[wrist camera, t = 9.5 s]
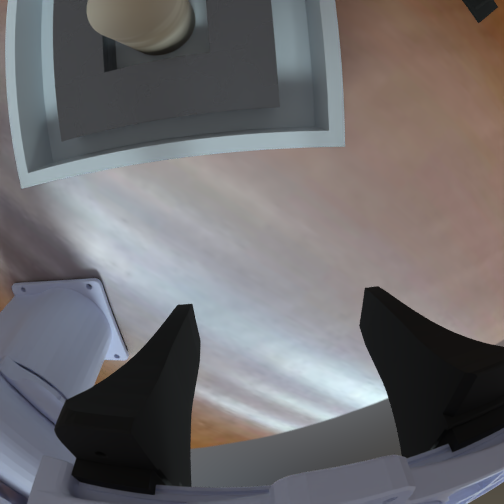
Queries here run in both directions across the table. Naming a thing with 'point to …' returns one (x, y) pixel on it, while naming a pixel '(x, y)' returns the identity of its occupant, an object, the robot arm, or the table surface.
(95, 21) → the peg
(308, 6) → the tray
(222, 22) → the plate
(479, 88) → the table surface
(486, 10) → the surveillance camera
